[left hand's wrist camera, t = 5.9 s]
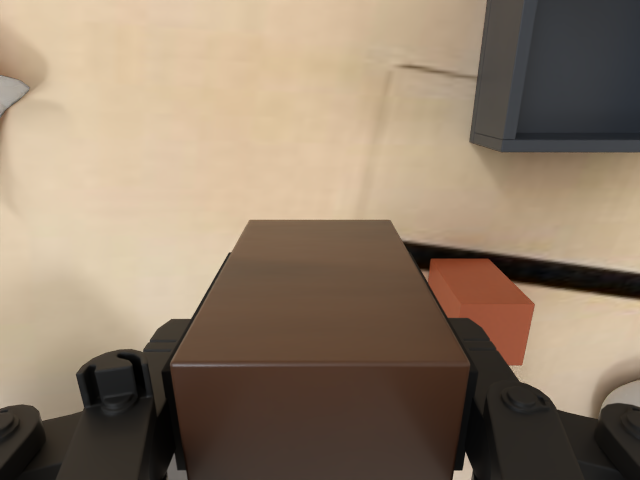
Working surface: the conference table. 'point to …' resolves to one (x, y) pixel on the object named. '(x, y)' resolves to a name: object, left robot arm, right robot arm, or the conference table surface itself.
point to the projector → (624, 395)
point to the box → (559, 77)
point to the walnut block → (319, 361)
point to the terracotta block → (484, 302)
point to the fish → (10, 92)
